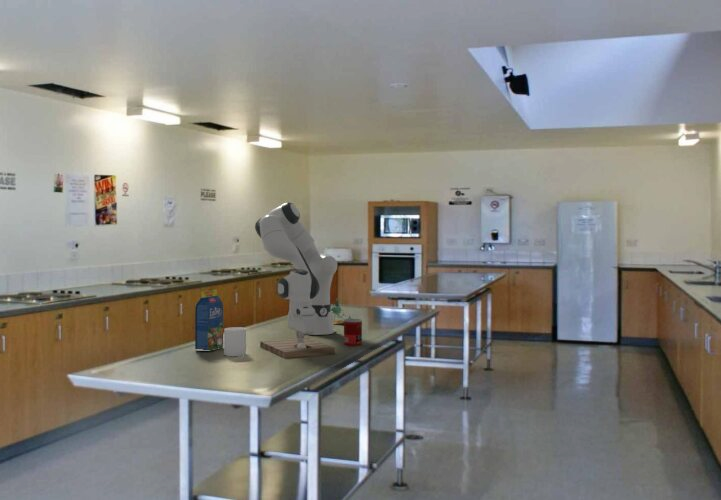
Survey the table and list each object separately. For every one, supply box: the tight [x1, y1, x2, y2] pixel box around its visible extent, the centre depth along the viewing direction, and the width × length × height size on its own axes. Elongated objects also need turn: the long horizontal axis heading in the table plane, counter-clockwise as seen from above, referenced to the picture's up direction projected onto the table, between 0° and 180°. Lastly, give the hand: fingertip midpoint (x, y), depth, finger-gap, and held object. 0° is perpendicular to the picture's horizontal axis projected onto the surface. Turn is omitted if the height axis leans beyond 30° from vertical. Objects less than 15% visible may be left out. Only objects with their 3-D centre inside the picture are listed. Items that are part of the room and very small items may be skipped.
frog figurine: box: [330, 298, 353, 325], centre depth 375 cm, size 10×18×15 cm, turn 75°
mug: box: [223, 326, 247, 357], centre depth 282 cm, size 9×12×11 cm
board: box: [259, 337, 336, 359], centre depth 292 cm, size 28×22×2 cm
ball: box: [297, 343, 306, 349], centre depth 287 cm, size 4×4×4 cm
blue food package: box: [194, 288, 224, 351], centre depth 293 cm, size 6×12×25 cm, turn 160°
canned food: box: [343, 318, 363, 347], centre depth 308 cm, size 8×8×11 cm
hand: (300, 341), depth 290 cm, fingers closed
